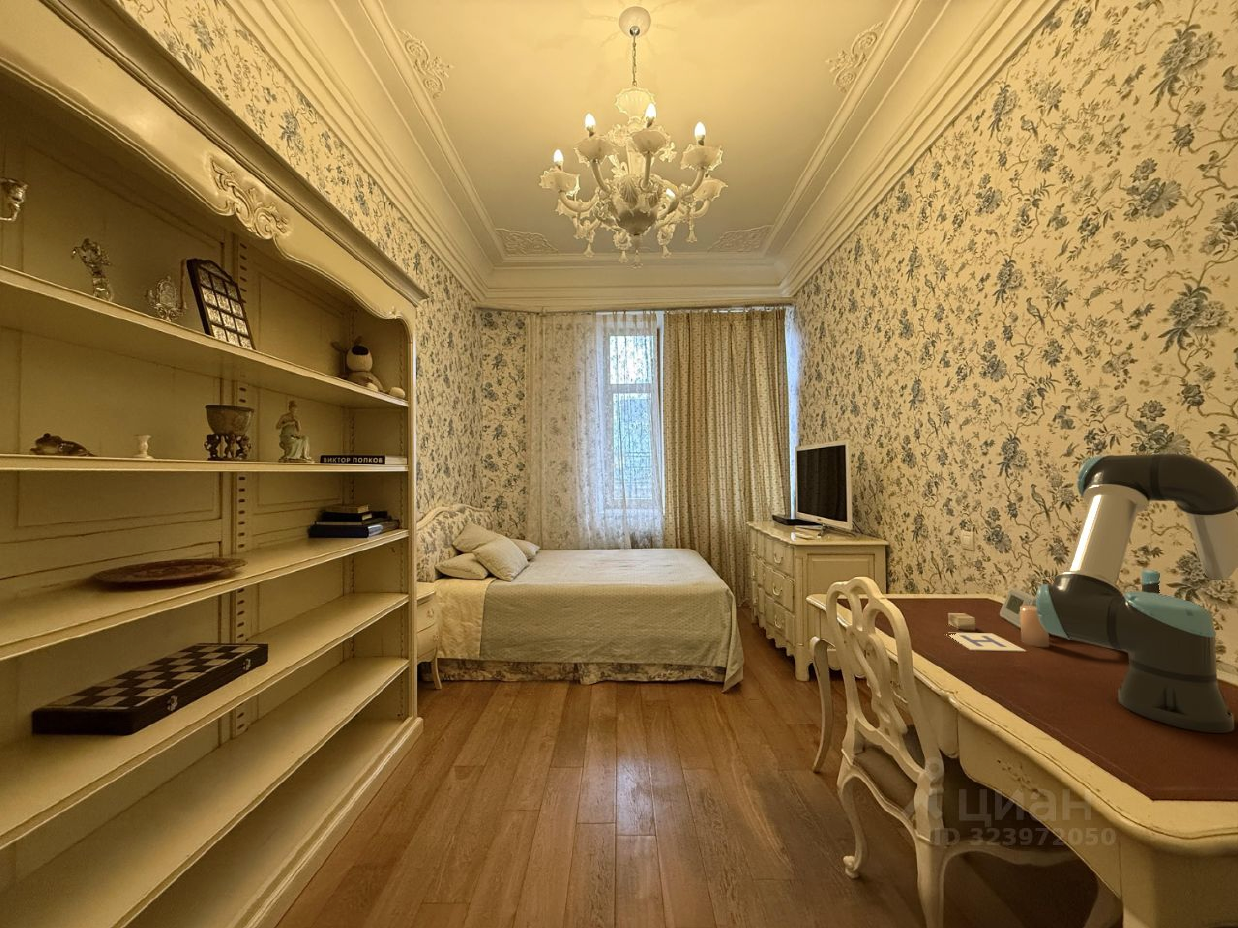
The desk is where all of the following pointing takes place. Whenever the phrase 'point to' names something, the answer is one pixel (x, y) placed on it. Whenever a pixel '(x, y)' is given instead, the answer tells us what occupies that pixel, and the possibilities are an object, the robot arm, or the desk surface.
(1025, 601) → the digital clock
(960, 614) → the ash block
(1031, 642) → the terracotta canister
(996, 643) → the letter card
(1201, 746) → the desk surface
